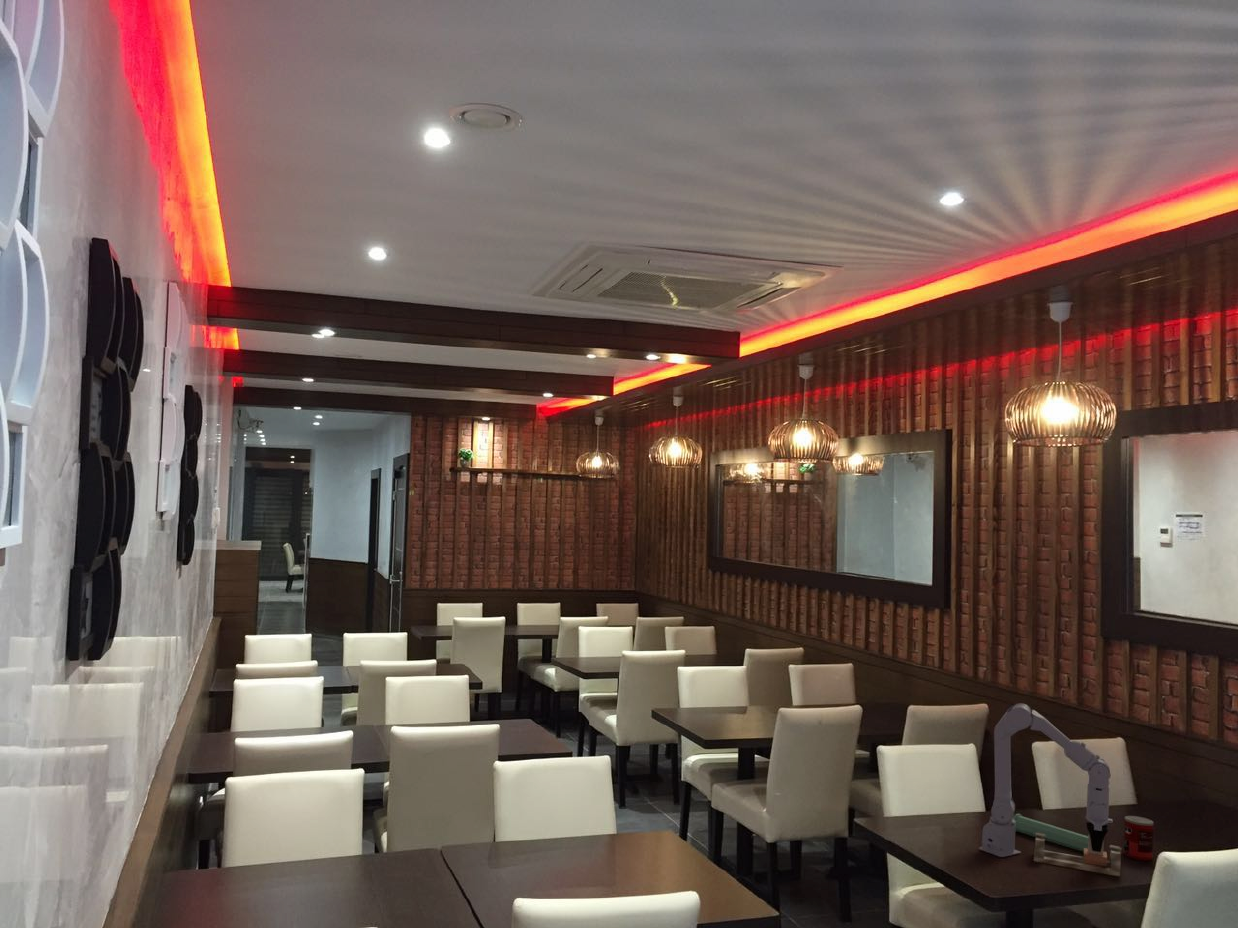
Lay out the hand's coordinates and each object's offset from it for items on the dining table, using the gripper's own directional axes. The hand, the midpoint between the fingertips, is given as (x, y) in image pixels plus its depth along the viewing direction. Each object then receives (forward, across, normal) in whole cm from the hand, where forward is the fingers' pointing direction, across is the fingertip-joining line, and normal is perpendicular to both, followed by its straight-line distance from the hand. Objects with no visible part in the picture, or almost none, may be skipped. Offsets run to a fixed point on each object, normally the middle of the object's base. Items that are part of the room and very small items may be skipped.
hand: (1096, 849), depth 295 cm
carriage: (+4, 0, 0) cm, 4 cm away
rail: (+5, 0, +5) cm, 7 cm away
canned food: (+6, +20, -12) cm, 24 cm away
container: (+6, +21, +12) cm, 25 cm away
